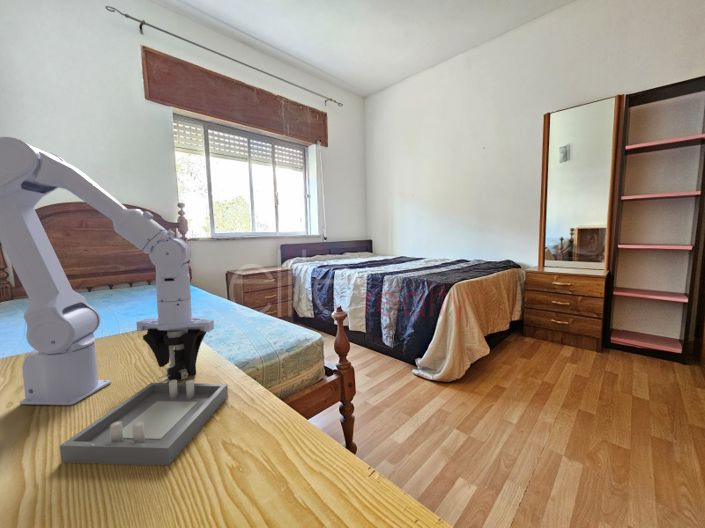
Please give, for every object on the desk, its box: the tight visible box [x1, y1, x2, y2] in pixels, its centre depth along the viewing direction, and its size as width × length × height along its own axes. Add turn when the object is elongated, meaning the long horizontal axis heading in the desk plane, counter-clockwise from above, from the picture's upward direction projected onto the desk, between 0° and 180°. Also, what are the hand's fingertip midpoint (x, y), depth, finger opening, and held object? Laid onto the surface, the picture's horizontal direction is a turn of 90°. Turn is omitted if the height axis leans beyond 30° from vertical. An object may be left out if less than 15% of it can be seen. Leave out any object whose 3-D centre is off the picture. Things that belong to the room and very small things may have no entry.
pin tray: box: [59, 379, 229, 466], centre depth 44 cm, size 14×16×4 cm
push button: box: [158, 330, 197, 383], centre depth 58 cm, size 7×5×10 cm
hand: (177, 365), depth 58 cm, fingers closed on push button, 5 cm apart
